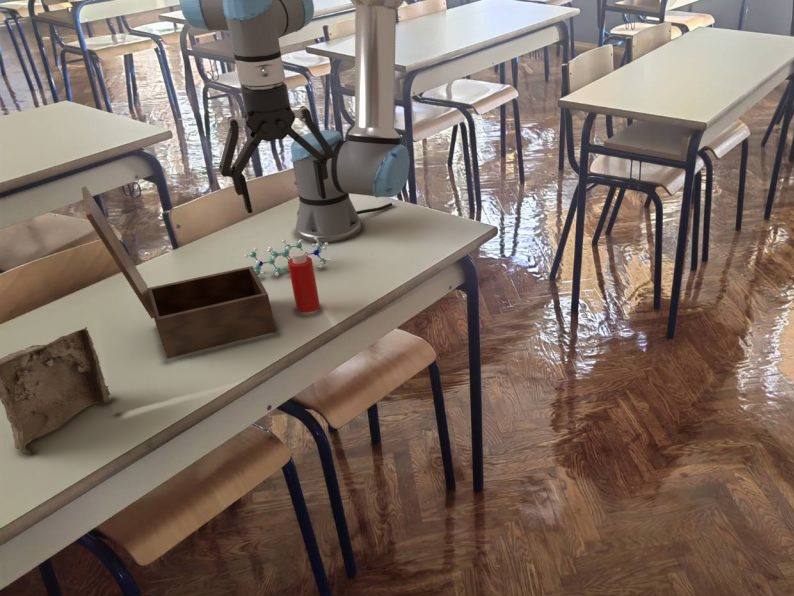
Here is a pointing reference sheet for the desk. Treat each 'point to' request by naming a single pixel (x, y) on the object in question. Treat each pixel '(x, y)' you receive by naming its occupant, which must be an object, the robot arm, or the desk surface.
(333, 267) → the desk surface
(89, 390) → the mineral sample
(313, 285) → the bottle
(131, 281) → the lid
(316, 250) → the molecule model
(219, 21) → the robot arm
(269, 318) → the storage box
